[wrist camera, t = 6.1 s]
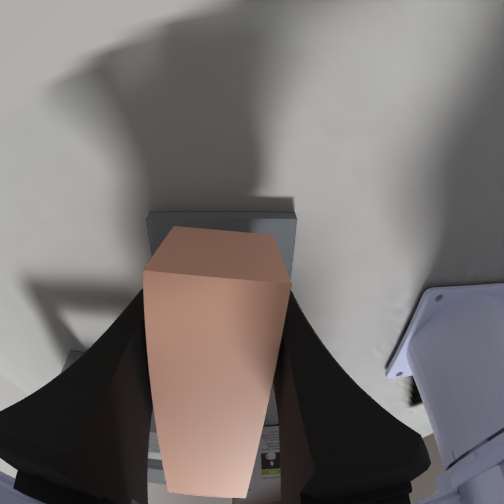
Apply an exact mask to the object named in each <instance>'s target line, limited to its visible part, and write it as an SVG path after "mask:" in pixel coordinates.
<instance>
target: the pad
mask: <svg viewBox="0 0 504 504" xmlns="http://www.w3.org/2000/svg"><path fill="white" fill-rule="evenodd" d="M146 220H147V227H148V233H149V239H150V245H151V251H152V256H153V255H154V253H155V252H156V250H157V249H158V248H159V246H160V245H161V243H162V242H163V241H164V239H165V238H166V236H167V235H168V234H169V232H170V231H171V229H172V228H173V227H174V226H179V227H191V228H203V229H214V230H225V231H236V232H247V233H258V234H268V235H274V238H275V240H276V243H277V246H278V248H279V251H280V254H281V257H282V259H283V262H284V265H285V267H286V270H287V273H288V276H289V278H290V279H291V270H292V262H293V253H294V243H295V234H296V224H297V218H296V214H295V212H150V213H149V215H148V217H147V218H146ZM271 389H274V385H273V383H272V388H271Z"/></svg>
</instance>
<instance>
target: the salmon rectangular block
mask: <svg viewBox="0 0 504 504" xmlns="http://www.w3.org/2000/svg"><path fill="white" fill-rule="evenodd" d="M290 289H291V281H290V278H289V276H288V273H287V270H286V267H285V265H284V262H283V259H282V257H281V254H280V251H279V248H278V246H277V243H276V240H275V238H274V235H268V234H258V233H247V232H236V231H225V230H214V229H203V228H191V227H179V226H174V227H173V228H172V229H171V231H170V232H169V234H168V235H167V236H166V238H165V239H164V241H163V242H162V243H161V245H160V246H159V248H158V249H157V250H156V252H155V253H154V255H153V256H152V258H151V259H150V260H149V262H148V263H147V265H146V266H145V268H144V269H143V293H144V314H145V330H146V344H147V355H148V366H149V376H150V385H151V393H152V401H153V409H154V416H155V423H156V429H157V436H158V442H159V448H160V453H161V459H162V464H163V469H164V474H165V479H166V484H167V489H168V492H172V493H180V494H189V495H198V496H210V497H226V498H246V496H247V492H248V488H249V484H250V480H251V476H252V472H253V467H254V463H255V459H256V455H257V451H258V446H259V442H260V438H261V433H262V429H263V425H264V420H265V416H266V411H267V406H268V402H269V397H270V392H271V388H272V383H273V378H274V373H275V368H276V363H277V358H278V353H279V348H280V343H281V338H282V333H283V327H284V322H285V317H286V311H287V306H288V300H289V294H290Z"/></svg>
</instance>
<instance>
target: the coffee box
mask: <svg viewBox="0 0 504 504" xmlns="http://www.w3.org/2000/svg"><path fill="white" fill-rule="evenodd" d="M232 504H281V475H280V443H279V426H268V427H263V429H262V433H261V438H260V442H259V446H258V451H257V455H256V459H255V463H254V467H253V472H252V476H251V480H250V484H249V488H248V492H247V496H246V498H233V502H232Z"/></svg>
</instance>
